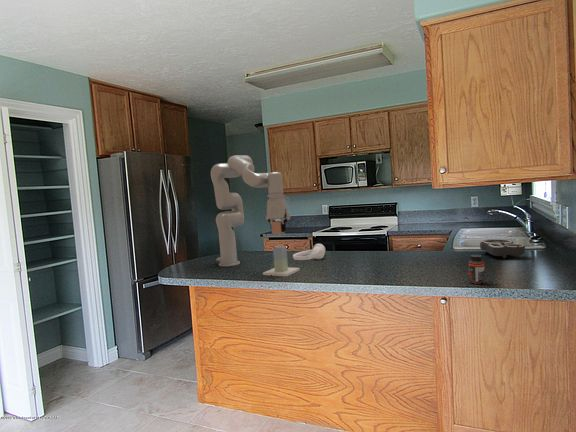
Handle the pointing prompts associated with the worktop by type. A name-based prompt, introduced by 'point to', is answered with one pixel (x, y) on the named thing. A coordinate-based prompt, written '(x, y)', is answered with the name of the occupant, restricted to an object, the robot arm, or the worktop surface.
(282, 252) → the brick mid
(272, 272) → the plate
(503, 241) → the motorcycle dashboard
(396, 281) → the worktop surface
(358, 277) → the worktop surface
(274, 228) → the brick top
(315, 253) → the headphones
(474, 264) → the supplement bottle
